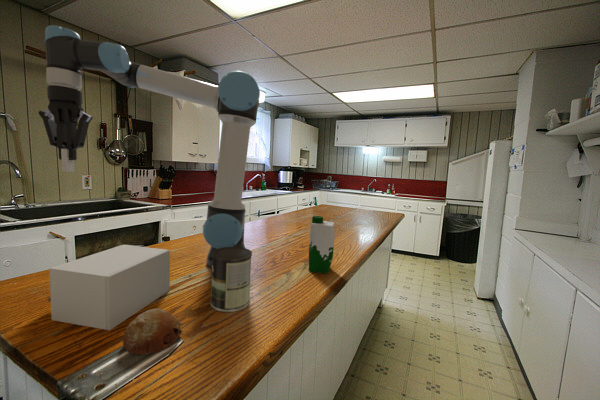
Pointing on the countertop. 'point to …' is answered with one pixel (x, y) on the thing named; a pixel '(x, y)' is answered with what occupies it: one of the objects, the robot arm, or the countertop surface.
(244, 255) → the coffee can
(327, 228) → the milk carton
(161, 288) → the plain grey box
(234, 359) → the countertop surface
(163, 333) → the bread roll
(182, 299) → the countertop surface
